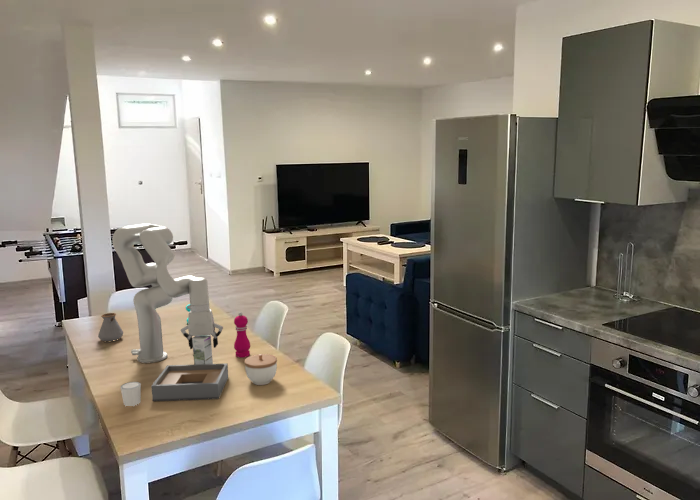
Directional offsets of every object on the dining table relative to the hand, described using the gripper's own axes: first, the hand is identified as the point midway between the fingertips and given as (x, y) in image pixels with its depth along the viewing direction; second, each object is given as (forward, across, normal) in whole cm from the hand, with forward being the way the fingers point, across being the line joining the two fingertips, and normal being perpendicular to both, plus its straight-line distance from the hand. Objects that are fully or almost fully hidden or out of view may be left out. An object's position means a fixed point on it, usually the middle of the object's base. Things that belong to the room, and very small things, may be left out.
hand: (203, 347), depth 228 cm
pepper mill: (+10, +13, +16) cm, 23 cm away
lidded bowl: (+11, +25, -14) cm, 31 cm away
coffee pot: (+8, -53, +39) cm, 67 cm away
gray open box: (+10, -1, -20) cm, 22 cm away
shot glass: (+10, -20, -30) cm, 38 cm away
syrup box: (+10, -1, 0) cm, 10 cm away
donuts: (+8, -20, +68) cm, 72 cm away
